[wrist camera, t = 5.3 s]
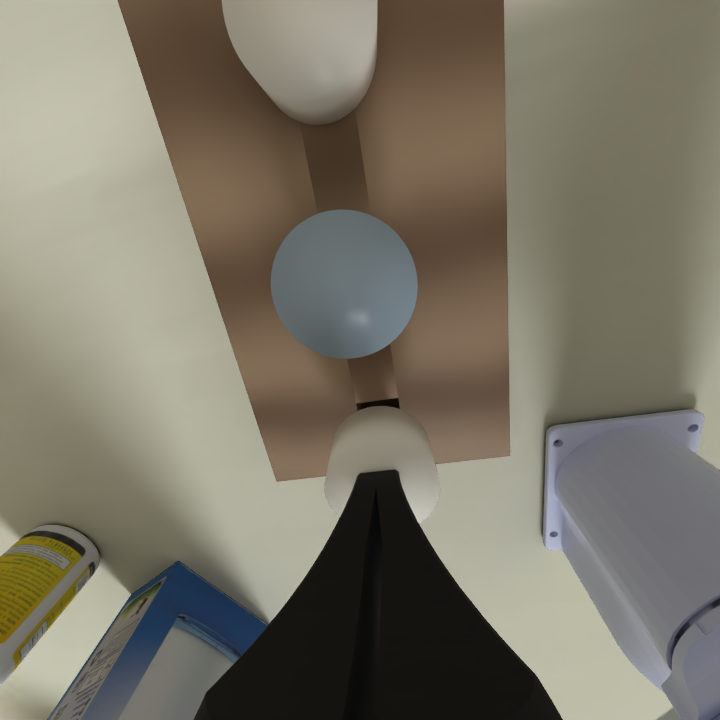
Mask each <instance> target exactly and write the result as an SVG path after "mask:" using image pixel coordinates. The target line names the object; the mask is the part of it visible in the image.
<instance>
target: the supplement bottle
mask: <svg viewBox="0 0 720 720" xmlns="http://www.w3.org/2000/svg"><path fill="white" fill-rule="evenodd" d="M99 563H100V556H99V553H98V550H97V549H96V547H95V546H94V544H93V543H92V542H91V541H90V540H89V539H88V538H87V537H85V536H84V535H83V534H81V533H80V532H78V531H76V530H74V529H71V528H69V527H65V526H60V525H44V526H40V527H37V528H35V529H33V530H31V531H30V532H29V533H27V534H26V535H25V536H23V537H22V538H21V539H20V540H19V541H18V542H16V543H15V544H14V545H13V546H12V547H11V548H10V549H8V550H7V551H6V552H5V553H4V554H3V555H2V556H0V685H1V684H3V683H4V682H5V680H6V679H7V678H8V677H9V676H10V675H11V674H12V673H13V671H14V670H15V669H16V668H17V666H18V665H19V664H20V663H21V662H22V660H23V659H24V658H25V657H26V656H27V654H28V653H29V652H30V651H31V649H32V648H33V647H34V646H35V645H36V643H37V642H38V641H39V640H40V638H41V637H42V636H43V635H44V634H45V632H46V631H47V630H48V629H49V628H50V626H51V625H52V624H53V623H54V621H55V620H56V619H57V618H58V617H59V615H60V614H61V613H62V612H63V611H64V609H65V608H66V607H67V606H68V604H69V603H70V602H71V601H72V600H73V598H74V597H75V596H76V595H77V593H78V592H79V591H80V590H81V589H82V587H83V586H84V585H85V584H86V583H87V581H88V580H89V579H90V578H91V576H92V575H93V574H94V572H95V571H96V570H97V568H98V566H99Z"/></svg>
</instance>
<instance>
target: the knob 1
mask: <svg viewBox="0 0 720 720" xmlns="http://www.w3.org/2000/svg"><path fill="white" fill-rule="evenodd" d="M222 9H223V15H224V20H225V24H226V28H227V31H228V34H229V37H230V40H231V42H232V45H233V47H234V49H235V51H236V53H237V55H238V56H239V58H240V60H241V61H242V63H243V64H244V66H245V67H246V69H247V70H248V71H249V72H250V74H251V75H252V76H253V77H254V79H255V80H256V81H257V82H258V84H259V85H260V86H261V87H262V89H263V90H264V91H265V92H266V94H267V95H268V96H269V97H270V99H271V100H272V101H273V102H274V103H275V105H276V106H277V107H278V108H279V109H280V110H281V111H283V112H284V113H285V114H286V115H288V116H289V117H291V118H293V119H295V120H297V121H299V122H302V123H305V124H310V125H324V124H329V123H333V122H336V121H338V120H340V119H342V118H343V117H345V116H346V115H348V114H349V113H350V112H351V111H353V110H354V109H355V108H356V107H357V105H358V104H359V103H360V102H361V100H362V99H363V97H364V96H365V94H366V92H367V90H368V88H369V86H370V84H371V81H372V78H373V75H374V71H375V66H376V59H377V0H222Z"/></svg>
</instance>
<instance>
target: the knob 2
mask: <svg viewBox="0 0 720 720" xmlns="http://www.w3.org/2000/svg"><path fill="white" fill-rule="evenodd" d="M393 469H396V470H397V471H398V472H399V476H400V481H401V485H402V488H403V490H404V493H405V495H406V498H407V500H408V503H409V505H410V507H411V509H412V511H413V513H414V515H415V517H416V519H417V521H418V523H421V522H422V521H424V520H425V519H426V518H427V517H428V516H429V515H430V514H431V513H432V511H433V510H434V508H435V507H436V505H437V503H438V500H439V496H440V482H439V477H438V473H437V469H436V465H435V461H434V458H433V454H432V450H431V446H430V442H429V438H428V435H427V432H426V430H425V429H424V427H423V426H422V424H421V423H420V422H419V421H418V420H417V419H416V418H415V417H413V416H412V415H411V414H409V413H407V412H405V411H403V410H401V409H398V408H394V407H388V406H373V407H368V408H364V409H361V410H359V411H356V412H354V413H353V414H351V415H350V416H348V417H347V418H346V419H345V420H344V421H343V422H342V423H341V424H340V426H339V427H338V429H337V431H336V433H335V436H334V439H333V444H332V449H331V454H330V459H329V464H328V469H327V474H326V479H325V495H326V499H327V502H328V504H329V506H330V507H331V509H332V510H333V512H334V513H335V514H336V515H337V516H338V517H339V518H340V516H341V514H342V512H343V510H344V508H345V506H346V503H347V501H348V499H349V496H350V494H351V492H352V489H353V487H354V484H355V481H356V478H357V476H358V475H359V473H366V472H375V471H384V470H393Z"/></svg>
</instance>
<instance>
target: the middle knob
mask: <svg viewBox="0 0 720 720" xmlns="http://www.w3.org/2000/svg"><path fill="white" fill-rule="evenodd" d="M417 291H418V282H417V273H416V268H415V264H414V261H413V258H412V256H411V254H410V252H409V250H408V248H407V246H406V245H405V243H404V242H403V240H402V239H401V238H400V237H399V235H398V234H397V233H396V232H395V231H394V230H393V229H392V228H390V227H389V226H388V225H387V224H385V223H384V222H382V221H381V220H379V219H377V218H375V217H373V216H371V215H369V214H366V213H363V212H359V211H353V210H331V211H326V212H322V213H319V214H316V215H314V216H312V217H309V218H308V219H306V220H305V221H303V222H301V223H300V224H299V225H298V226H296V227H295V228H294V229H293V230H292V231H291V232H290V233H289V234H288V235H287V236H286V238H285V239H284V241H283V242H282V244H281V245H280V247H279V249H278V251H277V253H276V256H275V259H274V262H273V266H272V272H271V293H272V298H273V303H274V306H275V309H276V311H277V314H278V316H279V318H280V320H281V321H282V323H283V324H284V326H285V328H286V329H287V330H288V331H289V332H290V334H291V335H292V336H293V337H294V338H295V339H296V340H297V341H299V342H300V343H301V344H303V345H304V346H305V347H307V348H309V349H311V350H312V351H314V352H317V353H319V354H322V355H325V356H328V357H333V358H342V359H350V358H359V357H363V356H367V355H370V354H373V353H375V352H377V351H379V350H381V349H383V348H384V347H386V346H387V345H389V344H390V343H391V342H392V341H394V340H395V339H396V338H397V337H398V336H399V335H400V333H401V332H402V331H403V330H404V328H405V327H406V325H407V324H408V322H409V320H410V318H411V316H412V313H413V310H414V308H415V304H416V299H417Z"/></svg>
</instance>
